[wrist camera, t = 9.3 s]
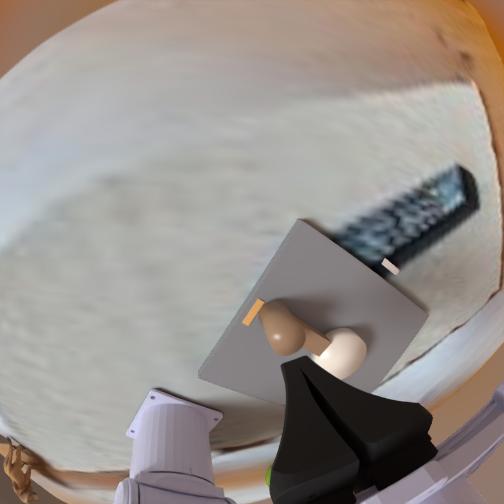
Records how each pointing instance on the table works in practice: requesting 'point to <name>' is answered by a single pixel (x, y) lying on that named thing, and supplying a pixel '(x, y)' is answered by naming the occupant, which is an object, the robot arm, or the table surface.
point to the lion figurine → (19, 475)
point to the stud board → (314, 316)
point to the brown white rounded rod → (312, 340)
